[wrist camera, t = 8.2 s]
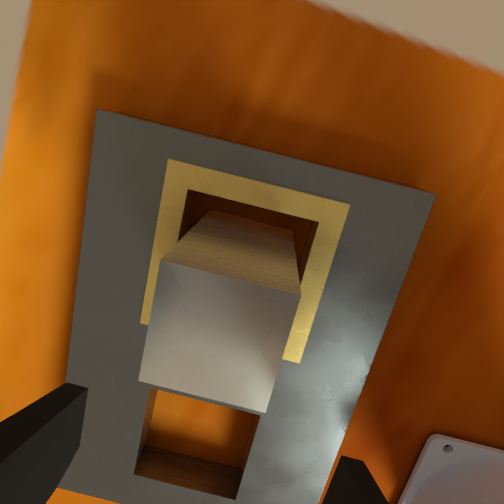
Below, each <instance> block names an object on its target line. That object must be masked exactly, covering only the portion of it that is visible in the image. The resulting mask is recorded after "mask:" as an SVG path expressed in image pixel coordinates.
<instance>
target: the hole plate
mask: <svg viewBox="0 0 504 504" xmlns="http://www.w3.org/2000/svg"><path fill="white" fill-rule="evenodd" d="M197 191H198V192H202V193H206V194H210V195H214V196H218V197H222V198H226V199H230V200H234V201H238V202H242V203H245V204H249V205H253V206H257V207H261V208H265V209H269V210H273V211H277V212H281V213H285V214H289V215H293V216H297V217H301V218H305V219H309V220H312V224H311V227H310V231H309V234H308V237H307V241H306V244H305V248H304V251H303V254H302V258H301V261H300V265H299V268H298V275H299V283H300V290H301V298H300V302H299V305H298V308H297V311H296V315H295V318H294V321H293V324H292V328H291V331H290V334H289V338H288V341H287V344H286V347H285V351H284V354H283V357H282V360H281V364H280V367H279V370H278V374H277V377H276V380H275V383H274V387H273V390H272V393H271V396H270V400H269V403H268V406H267V410H266V413H263V412H259V411H256V410H252V409H248V408H244V407H240V406H236V405H232V404H228V403H224V402H220V401H216V400H212V399H208V398H204V397H200V396H196V395H192V394H189V393H185V392H181V391H177V390H173V389H169V388H165V387H161V386H157V385H153V384H149V383H145V382H141V381H138V380H139V374H140V369H141V363H142V358H143V352H144V347H145V341H146V336H147V330H148V325H149V319H150V314H151V308H152V303H153V297H154V292H155V286H156V281H157V275H158V270H159V264H160V260H161V259H162V258H163V257H164V256H165V255H166V254H167V253H168V252H169V251H170V250H171V249H172V248H173V247H174V246H175V245H176V244H177V243H178V242H179V241H180V240H181V239H182V238H183V237H184V236H185V235H186V234H187V233H188V232H189V227H190V222H191V217H192V212H193V207H194V202H195V197H196V192H197ZM435 197H436V194H433V193H430V192H427V191H424V190H421V189H418V188H414V187H410V186H406V185H403V184H399V183H395V182H391V181H387V180H383V179H379V178H375V177H371V176H367V175H363V174H359V173H355V172H351V171H347V170H343V169H339V168H335V167H331V166H327V165H323V164H319V163H315V162H311V161H307V160H304V159H300V158H296V157H292V156H288V155H284V154H280V153H276V152H272V151H268V150H264V149H260V148H256V147H252V146H248V145H244V144H240V143H236V142H232V141H228V140H224V139H220V138H216V137H212V136H208V135H205V134H201V133H197V132H193V131H189V130H185V129H181V128H177V127H173V126H169V125H165V124H161V123H157V122H153V121H149V120H145V119H141V118H137V117H133V116H129V115H125V114H121V113H117V112H112V111H106V110H100V109H97V110H96V118H95V127H94V136H93V145H92V153H91V162H90V171H89V180H88V188H87V197H86V206H85V215H84V223H83V232H82V241H81V250H80V258H79V267H78V276H77V285H76V293H75V302H74V311H73V320H72V328H71V337H70V346H69V355H68V363H67V372H66V381H65V383H67V382H68V383H72V384H75V385H79V386H83V387H87V388H88V394H87V401H86V407H85V414H84V421H83V427H82V434H81V440H80V447H79V449H78V450H77V452H76V454H75V456H74V458H73V460H72V461H71V463H70V465H69V467H68V469H67V471H66V472H65V474H64V476H63V478H62V479H61V481H60V483H59V485H58V486H57V488H61V489H65V490H69V491H73V492H77V493H81V494H85V495H89V496H93V497H97V498H101V499H105V500H109V501H113V502H117V503H121V504H318V503H319V500H320V497H321V495H322V492H323V490H324V487H325V484H326V482H327V479H328V477H329V474H330V471H331V469H332V466H333V463H334V461H335V458H336V456H337V453H338V450H339V448H340V445H341V443H342V440H343V437H344V435H345V432H346V430H347V427H348V424H349V422H350V419H351V417H352V414H353V411H354V409H355V406H356V403H357V401H358V398H359V396H360V393H361V390H362V388H363V385H364V383H365V380H366V377H367V375H368V372H369V370H370V367H371V364H372V362H373V359H374V357H375V354H376V351H377V349H378V346H379V344H380V341H381V338H382V336H383V333H384V330H385V328H386V325H387V323H388V320H389V317H390V315H391V312H392V310H393V307H394V304H395V302H396V299H397V297H398V294H399V291H400V289H401V286H402V284H403V281H404V278H405V276H406V273H407V270H408V268H409V265H410V263H411V260H412V257H413V255H414V252H415V250H416V247H417V244H418V242H419V239H420V237H421V234H422V231H423V229H424V226H425V224H426V221H427V218H428V216H429V213H430V211H431V208H432V205H433V203H434V200H435ZM157 389H158V390H162V391H166V392H170V393H174V394H178V395H182V396H186V397H190V398H194V399H198V400H202V401H206V402H210V403H214V404H218V405H222V406H226V407H230V408H233V409H237V410H241V411H245V412H249V413H253V414H255V418H254V421H253V425H252V428H251V431H250V435H249V438H248V442H247V445H246V448H245V452H244V455H243V459H242V462H241V465H240V469H236V468H232V467H228V466H224V465H220V464H216V463H212V462H208V461H204V460H200V459H196V458H192V457H188V456H184V455H180V454H176V453H172V452H168V451H164V450H160V449H156V448H152V447H148V446H146V444H147V439H148V434H149V429H150V424H151V419H152V414H153V408H154V403H155V398H156V393H157Z"/></svg>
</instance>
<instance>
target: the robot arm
mask: <svg viewBox="0 0 504 504" xmlns="http://www.w3.org/2000/svg"><path fill="white" fill-rule="evenodd" d="M87 394H88V388H87V387H83V386H79V385H75V384H72V383H68V382H67V383H65V384H63V385H61V386H60V387H58V388H56V389H55V390H53V391H51V392H50V393H48V394H47V395H45V396H43V397H42V398H40V399H38V400H37V401H35V402H34V403H32V404H30V405H29V406H27V407H25V408H24V409H22V410H20V411H19V412H17V413H15V414H14V415H12V416H10V417H8V418H7V419H5V420H3V421H1V422H0V504H46V502H47V501H48V499H49V498H50V496H51V495H52V493H53V492H54V491H55V489H56V488H57V486H58V485H59V483H60V481H61V479H62V478H63V476H64V474H65V472H66V471H67V469H68V467H69V465H70V463H71V461H72V460H73V458H74V456H75V454H76V452H77V450H78V449H79V447H80V440H81V434H82V427H83V421H84V414H85V407H86V401H87ZM446 445H449V446H448V447H444V446H446ZM322 504H389V503H388V502H387V500H386V498H385V497H384V495H383V493H382V492H381V490H380V488H379V487H378V485H377V483H376V482H375V480H374V478H373V477H372V475H371V473H370V472H369V470H368V468H367V467H366V465H365V463H364V462H363V461H361V460H357V459H353V458H350V457H346V456H342V455H341V458H340V460H339V463H338V465H337V468H336V470H335V473H334V475H333V478H332V480H331V483H330V485H329V488H328V490H327V493H326V495H325V498H324V500H323V503H322ZM398 504H504V450H500V449H496V448H492V447H488V446H484V445H480V444H476V443H472V442H468V441H464V440H461V439H457V438H453V437H449V436H445V435H441V434H434V435H431V436H430V437H429V438H428V439H427V441H426V443H425V445H424V448H423V450H422V452H421V454H420V456H419V458H418V461H417V463H416V465H415V467H414V469H413V471H412V473H411V476H410V478H409V480H408V482H407V484H406V486H405V489H404V491H403V493H402V495H401V497H400V499H399V502H398Z"/></svg>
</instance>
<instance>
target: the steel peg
mask: <svg viewBox="0 0 504 504" xmlns="http://www.w3.org/2000/svg"><path fill="white" fill-rule="evenodd" d="M300 298H301V290H300V283H299V275H298V268H297V261H296V254H295V246H294V239H293V232H292V230H289V229H286V228H282V227H278V226H274V225H270V224H266V223H262V222H258V221H254V220H250V219H246V218H242V217H238V216H234V215H230V214H227V213H223V212H219V211H215V210H210V211H209V212H208V213H207V214H206V215H205V216H204V217H203V218H202V219H201V220H200V221H199V222H198V223H197V224H196V225H195V226H194V227H193V228H192V229H191V230H190V231H189V232H188V233H187V234H186V235H185V236H184V237H183V238H182V239H181V240H180V241H179V242H178V243H177V244H176V245H175V246H174V247H173V248H172V249H171V250H170V251H169V252H168V253H167V254H166V255H165V256H164V257H163V258H162V259H161V260H160V264H159V270H158V275H157V281H156V286H155V292H154V297H153V303H152V308H151V314H150V319H149V325H148V330H147V336H146V341H145V347H144V352H143V358H142V363H141V369H140V374H139V380H138V381H141V382H145V383H149V384H153V385H157V386H161V387H165V388H169V389H173V390H177V391H181V392H185V393H189V394H192V395H196V396H200V397H204V398H208V399H212V400H216V401H220V402H224V403H228V404H232V405H236V406H240V407H244V408H248V409H252V410H256V411H259V412H263V413H266V410H267V406H268V403H269V400H270V396H271V393H272V390H273V387H274V383H275V380H276V377H277V374H278V370H279V367H280V364H281V360H282V357H283V354H284V351H285V347H286V344H287V341H288V338H289V334H290V331H291V328H292V324H293V321H294V318H295V315H296V311H297V308H298V305H299V302H300Z"/></svg>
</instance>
